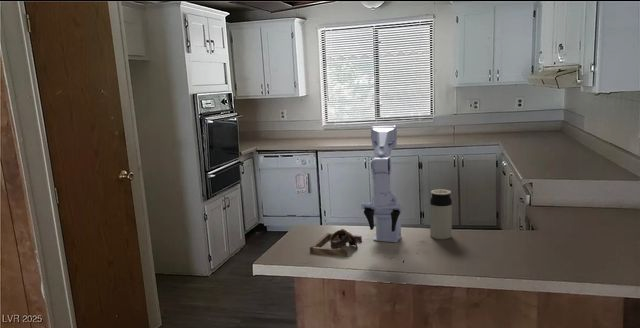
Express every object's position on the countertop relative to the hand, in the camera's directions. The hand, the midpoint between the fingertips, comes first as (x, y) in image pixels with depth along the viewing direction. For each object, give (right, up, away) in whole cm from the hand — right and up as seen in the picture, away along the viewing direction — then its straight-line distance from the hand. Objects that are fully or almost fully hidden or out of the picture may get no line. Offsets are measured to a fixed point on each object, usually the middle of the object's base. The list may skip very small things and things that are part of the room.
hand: (382, 229), depth 164 cm
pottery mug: (-13, -9, +11) cm, 19 cm away
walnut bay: (-15, -8, +12) cm, 21 cm away
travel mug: (+25, -5, +19) cm, 32 cm away
